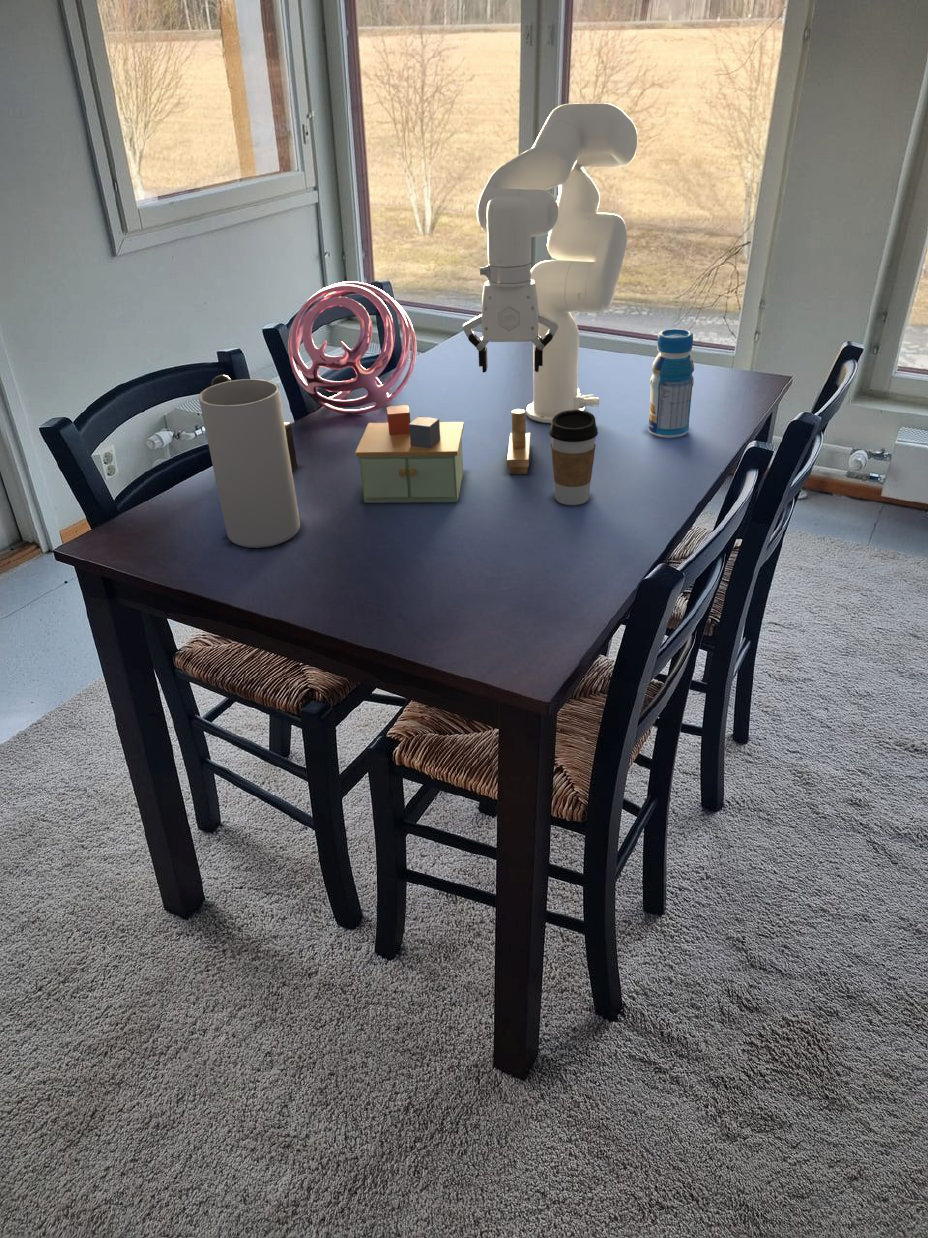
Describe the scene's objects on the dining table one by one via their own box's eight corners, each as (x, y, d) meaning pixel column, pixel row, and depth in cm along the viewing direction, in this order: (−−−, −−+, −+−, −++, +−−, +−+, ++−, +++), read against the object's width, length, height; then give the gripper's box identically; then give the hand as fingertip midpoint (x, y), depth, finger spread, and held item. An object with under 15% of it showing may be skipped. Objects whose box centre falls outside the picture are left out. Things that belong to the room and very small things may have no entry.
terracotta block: (409, 425, 173) (408, 404, 171) (411, 433, 170) (409, 412, 167) (388, 427, 173) (386, 406, 170) (389, 435, 169) (387, 414, 167)
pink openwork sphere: (335, 292, 220) (296, 245, 194) (445, 327, 216) (419, 283, 189) (296, 405, 222) (251, 373, 195) (404, 442, 217) (373, 414, 190)
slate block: (440, 439, 166) (439, 418, 164) (430, 448, 163) (429, 426, 161) (420, 437, 168) (419, 416, 166) (410, 445, 165) (408, 423, 163)
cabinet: (466, 471, 179) (463, 421, 173) (459, 505, 166) (456, 453, 161) (373, 471, 181) (368, 422, 175) (360, 505, 168) (354, 454, 163)
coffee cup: (600, 490, 169) (603, 411, 161) (589, 510, 162) (592, 429, 154) (555, 485, 172) (555, 407, 163) (543, 505, 165) (543, 424, 157)
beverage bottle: (671, 442, 186) (679, 342, 175) (638, 431, 191) (644, 333, 181) (697, 430, 190) (707, 332, 180) (664, 420, 196) (671, 324, 185)
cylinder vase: (267, 556, 154) (240, 410, 140) (212, 539, 160) (181, 398, 146) (315, 525, 163) (294, 385, 149) (262, 510, 168) (237, 374, 155)
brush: (530, 446, 187) (529, 398, 182) (528, 474, 176) (528, 423, 171) (510, 447, 188) (509, 399, 182) (507, 474, 177) (506, 424, 171)
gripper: (458, 279, 162) (462, 376, 171) (558, 277, 160) (557, 375, 169) (462, 269, 168) (466, 364, 177) (559, 268, 166) (557, 363, 175)
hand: (510, 369), depth 173 cm, fingers open, 9 cm apart
